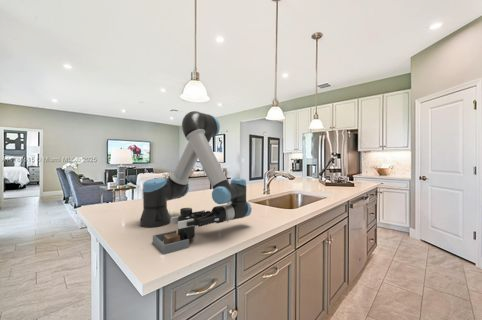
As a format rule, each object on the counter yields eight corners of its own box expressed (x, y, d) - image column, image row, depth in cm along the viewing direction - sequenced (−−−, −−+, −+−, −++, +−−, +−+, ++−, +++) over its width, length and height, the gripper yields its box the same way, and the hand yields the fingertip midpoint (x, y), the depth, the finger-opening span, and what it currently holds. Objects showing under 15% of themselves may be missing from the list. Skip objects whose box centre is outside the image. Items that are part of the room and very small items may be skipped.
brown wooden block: (175, 241, 92) (175, 232, 92) (180, 244, 88) (180, 236, 88) (163, 243, 89) (163, 235, 89) (167, 247, 85) (167, 238, 85)
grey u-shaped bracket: (175, 237, 96) (175, 230, 96) (189, 247, 85) (189, 239, 85) (152, 242, 90) (152, 235, 90) (163, 254, 79) (163, 246, 79)
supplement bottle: (188, 233, 96) (187, 206, 96) (198, 237, 92) (198, 208, 92) (174, 238, 91) (174, 209, 91) (184, 242, 86) (184, 211, 86)
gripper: (235, 226, 95) (184, 239, 80) (211, 217, 110) (166, 226, 96) (235, 209, 95) (184, 219, 80) (211, 202, 110) (165, 209, 96)
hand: (174, 223), depth 88 cm, fingers closed on supplement bottle, 7 cm apart
